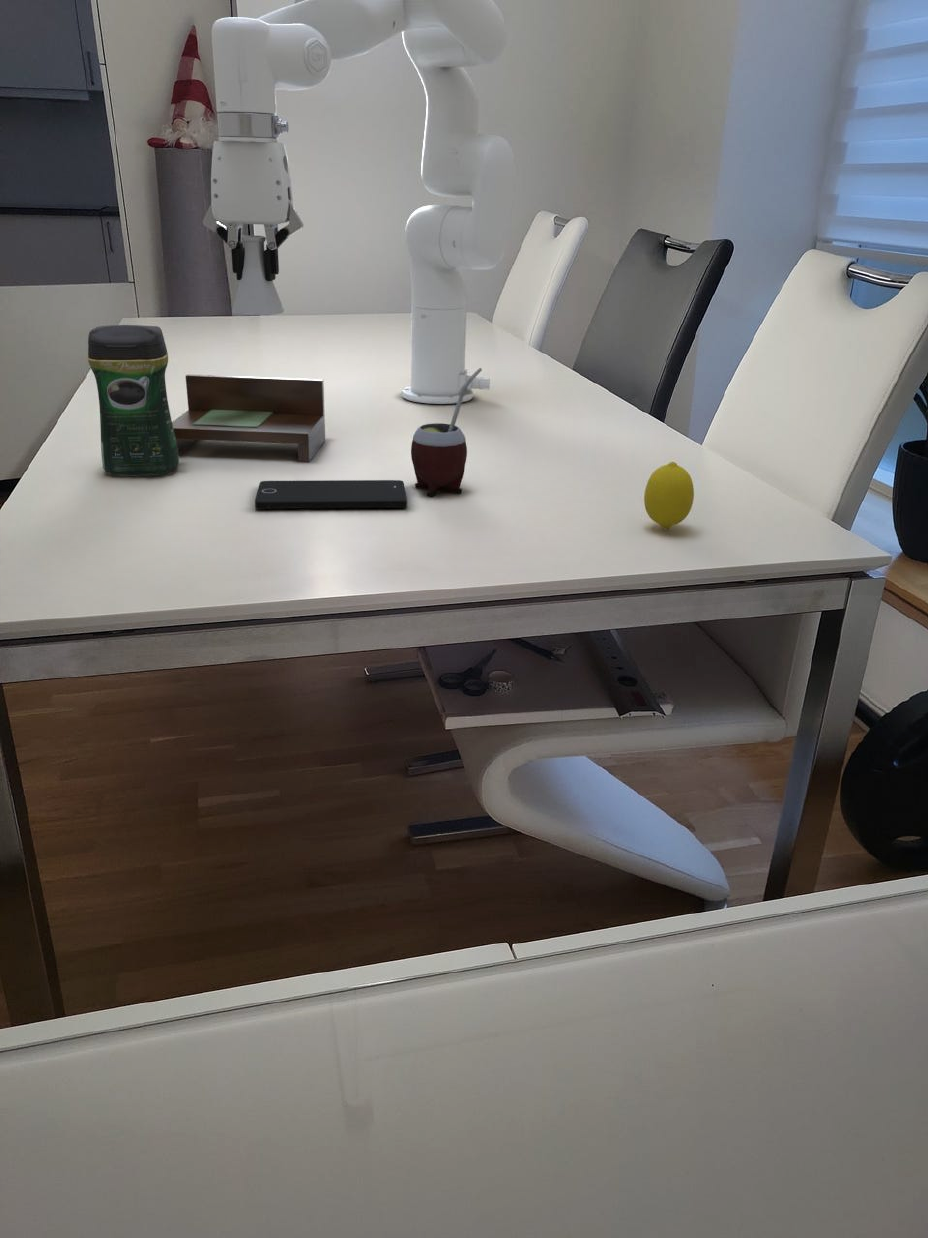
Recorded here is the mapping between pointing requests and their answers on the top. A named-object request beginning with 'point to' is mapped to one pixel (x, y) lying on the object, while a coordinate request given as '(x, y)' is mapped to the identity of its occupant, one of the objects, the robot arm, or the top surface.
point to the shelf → (253, 412)
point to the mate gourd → (441, 453)
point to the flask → (256, 283)
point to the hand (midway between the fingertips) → (256, 278)
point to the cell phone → (331, 494)
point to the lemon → (669, 495)
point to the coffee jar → (133, 399)
